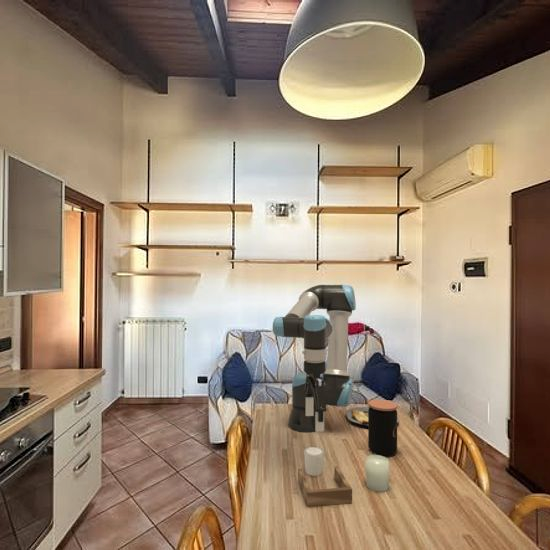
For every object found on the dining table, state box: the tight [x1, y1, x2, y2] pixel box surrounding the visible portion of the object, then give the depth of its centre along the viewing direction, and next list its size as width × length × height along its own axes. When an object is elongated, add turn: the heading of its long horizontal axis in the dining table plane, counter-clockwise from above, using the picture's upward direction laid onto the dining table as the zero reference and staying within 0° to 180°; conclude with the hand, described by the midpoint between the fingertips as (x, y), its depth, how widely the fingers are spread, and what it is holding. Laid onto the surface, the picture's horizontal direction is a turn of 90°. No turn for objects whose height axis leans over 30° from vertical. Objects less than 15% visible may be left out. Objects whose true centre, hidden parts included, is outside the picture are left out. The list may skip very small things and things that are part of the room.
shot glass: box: [303, 446, 325, 477], centre depth 123 cm, size 7×7×7 cm
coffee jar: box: [367, 399, 398, 458], centre depth 139 cm, size 11×11×18 cm
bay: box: [297, 465, 353, 508], centre depth 111 cm, size 13×13×4 cm
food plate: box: [344, 406, 400, 427], centre depth 170 cm, size 25×23×4 cm
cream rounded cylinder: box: [365, 454, 390, 493], centre depth 115 cm, size 7×7×8 cm
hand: (314, 423), depth 124 cm, fingers open, 13 cm apart
